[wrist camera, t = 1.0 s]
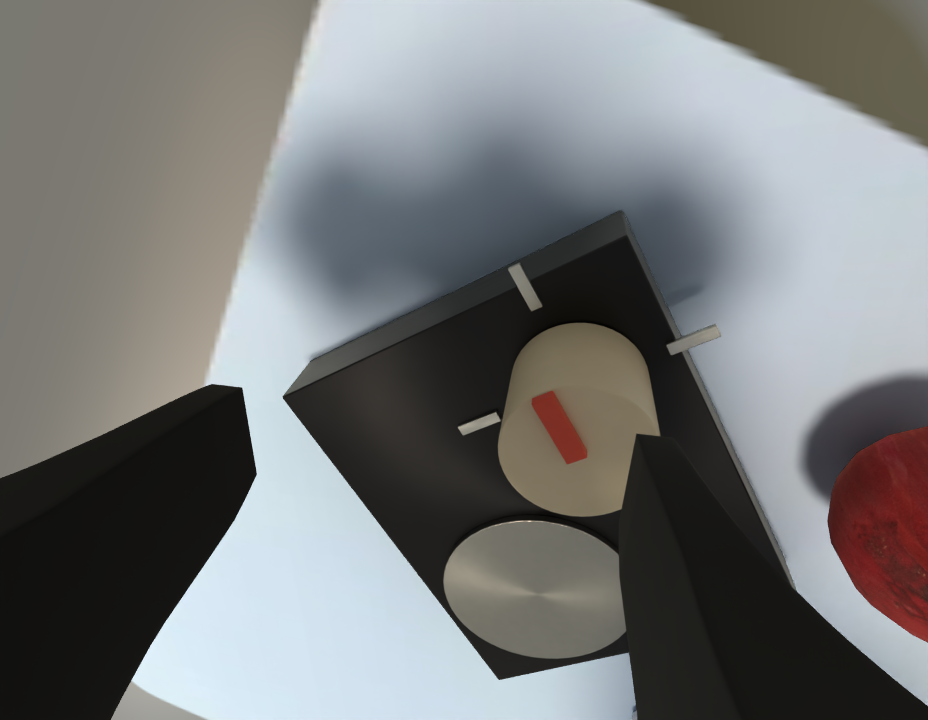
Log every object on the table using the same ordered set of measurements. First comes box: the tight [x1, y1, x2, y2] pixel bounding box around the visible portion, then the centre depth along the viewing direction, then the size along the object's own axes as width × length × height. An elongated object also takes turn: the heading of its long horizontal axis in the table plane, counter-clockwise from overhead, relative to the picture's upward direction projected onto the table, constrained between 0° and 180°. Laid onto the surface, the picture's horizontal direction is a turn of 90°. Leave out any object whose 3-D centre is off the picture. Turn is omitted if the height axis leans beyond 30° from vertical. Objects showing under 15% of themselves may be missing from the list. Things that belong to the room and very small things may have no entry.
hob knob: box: [498, 323, 660, 517], centre depth 17 cm, size 4×4×4 cm
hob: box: [283, 210, 796, 680], centre depth 22 cm, size 16×13×3 cm
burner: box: [443, 515, 626, 659], centre depth 23 cm, size 7×7×1 cm
